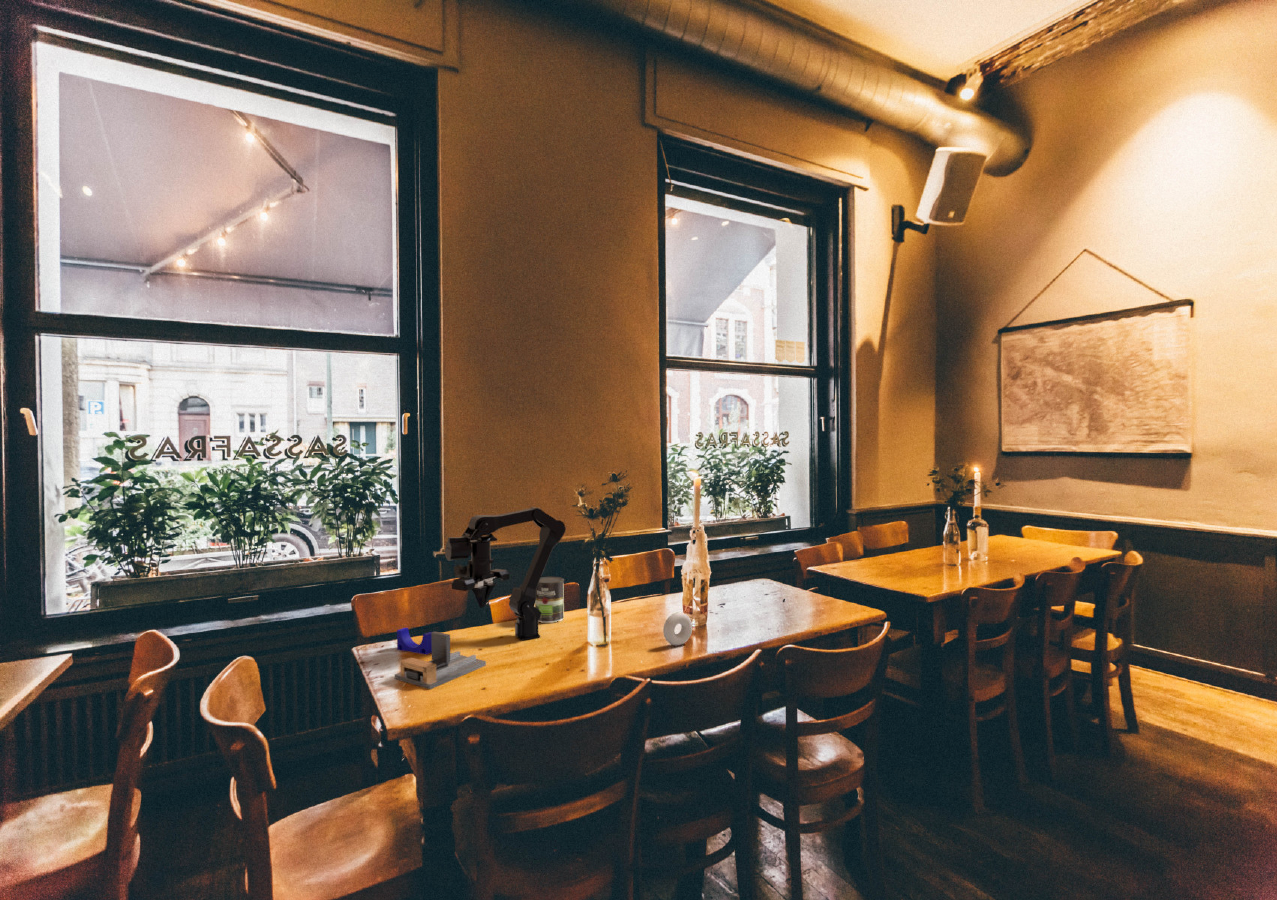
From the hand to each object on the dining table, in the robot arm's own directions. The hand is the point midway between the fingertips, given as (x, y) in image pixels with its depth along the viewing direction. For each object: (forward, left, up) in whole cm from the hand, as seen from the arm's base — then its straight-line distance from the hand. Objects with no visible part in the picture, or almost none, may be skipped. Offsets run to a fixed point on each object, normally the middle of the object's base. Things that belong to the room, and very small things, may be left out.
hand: (481, 607), depth 183 cm
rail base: (+15, +15, -12) cm, 24 cm away
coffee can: (-28, -17, -12) cm, 35 cm away
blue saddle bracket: (+18, -8, -12) cm, 23 cm away
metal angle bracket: (+19, +18, -10) cm, 28 cm away
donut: (-52, +30, -12) cm, 61 cm away
